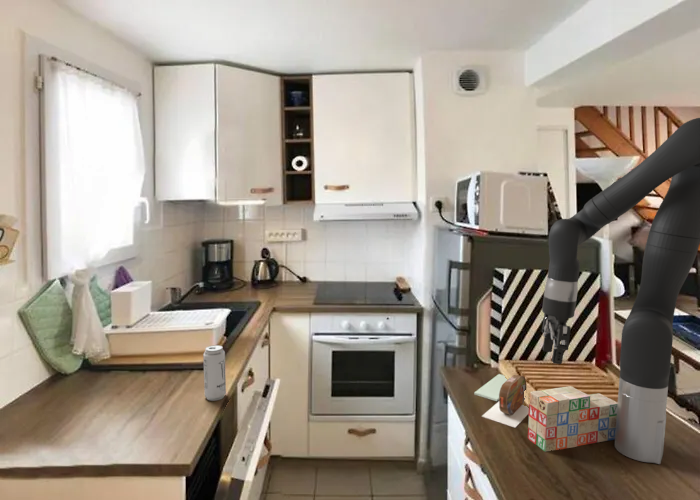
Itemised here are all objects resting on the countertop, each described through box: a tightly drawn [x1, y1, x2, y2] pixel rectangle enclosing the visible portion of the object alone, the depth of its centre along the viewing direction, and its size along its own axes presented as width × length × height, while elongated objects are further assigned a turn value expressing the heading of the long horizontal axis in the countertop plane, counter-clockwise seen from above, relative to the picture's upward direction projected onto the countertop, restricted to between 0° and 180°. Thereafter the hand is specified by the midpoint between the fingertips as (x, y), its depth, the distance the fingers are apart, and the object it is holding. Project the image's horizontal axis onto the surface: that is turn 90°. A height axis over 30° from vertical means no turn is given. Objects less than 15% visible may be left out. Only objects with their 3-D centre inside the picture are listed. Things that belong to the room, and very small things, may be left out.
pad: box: [474, 373, 507, 402], centre depth 136 cm, size 7×19×1 cm, turn 139°
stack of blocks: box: [527, 385, 618, 453], centre depth 106 cm, size 21×6×12 cm, turn 105°
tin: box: [498, 374, 527, 415], centre depth 122 cm, size 15×3×8 cm, turn 139°
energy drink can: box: [203, 344, 227, 402], centre depth 128 cm, size 6×6×15 cm
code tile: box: [481, 401, 529, 428], centre depth 122 cm, size 9×20×1 cm, turn 140°
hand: (551, 357), depth 113 cm, fingers open, 8 cm apart
